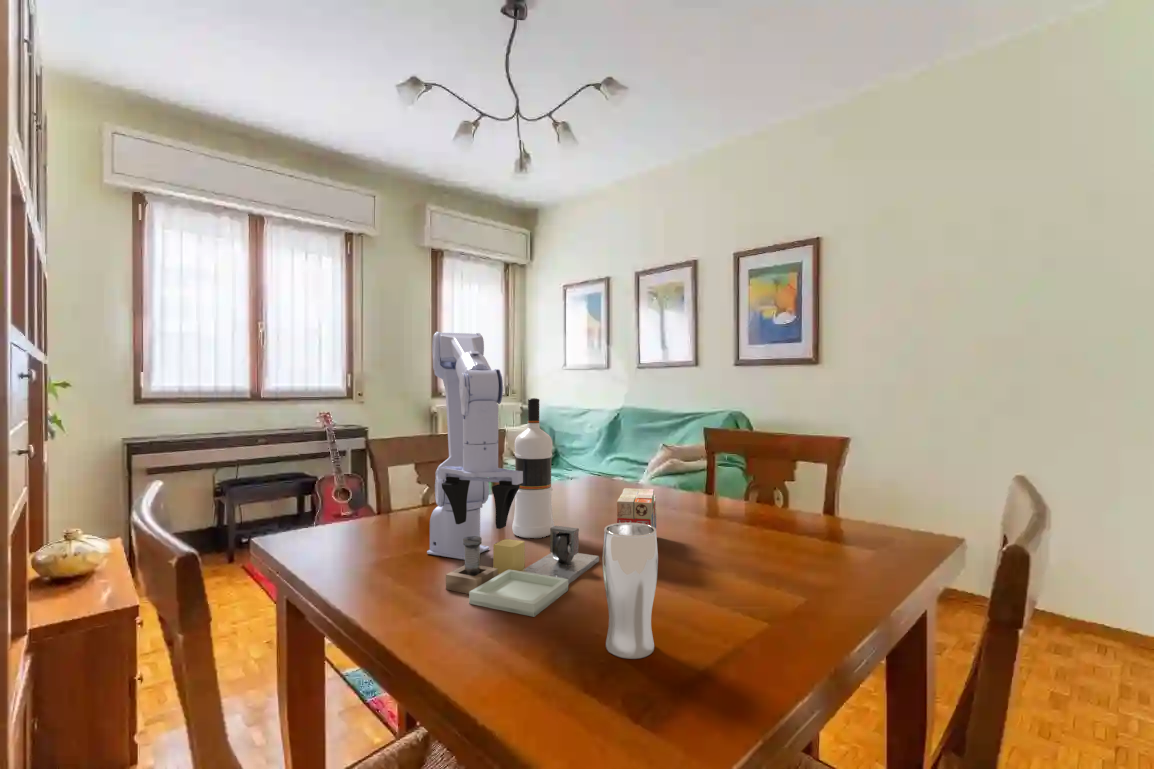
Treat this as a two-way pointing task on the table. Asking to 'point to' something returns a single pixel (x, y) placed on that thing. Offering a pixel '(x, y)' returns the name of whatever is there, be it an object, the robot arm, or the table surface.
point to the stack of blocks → (637, 506)
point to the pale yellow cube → (509, 555)
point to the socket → (469, 579)
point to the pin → (472, 555)
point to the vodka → (533, 479)
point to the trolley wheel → (563, 556)
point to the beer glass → (630, 587)
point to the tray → (519, 592)
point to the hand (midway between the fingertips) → (480, 525)
